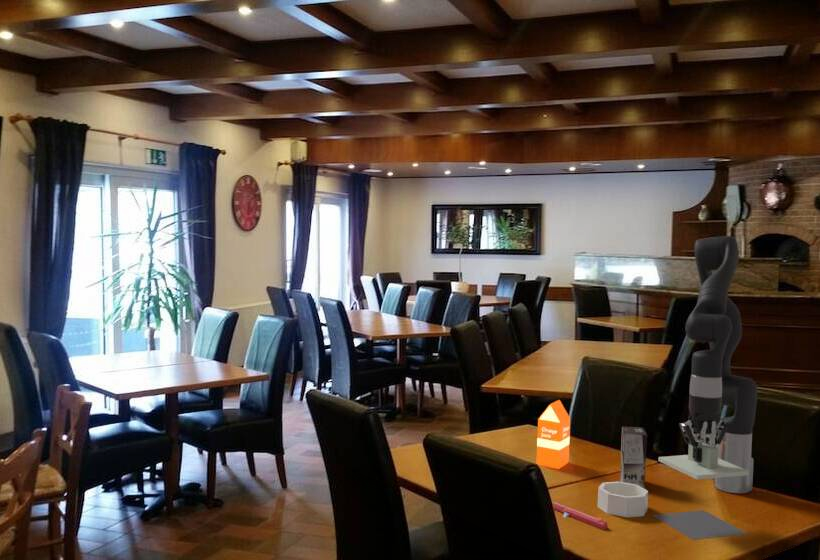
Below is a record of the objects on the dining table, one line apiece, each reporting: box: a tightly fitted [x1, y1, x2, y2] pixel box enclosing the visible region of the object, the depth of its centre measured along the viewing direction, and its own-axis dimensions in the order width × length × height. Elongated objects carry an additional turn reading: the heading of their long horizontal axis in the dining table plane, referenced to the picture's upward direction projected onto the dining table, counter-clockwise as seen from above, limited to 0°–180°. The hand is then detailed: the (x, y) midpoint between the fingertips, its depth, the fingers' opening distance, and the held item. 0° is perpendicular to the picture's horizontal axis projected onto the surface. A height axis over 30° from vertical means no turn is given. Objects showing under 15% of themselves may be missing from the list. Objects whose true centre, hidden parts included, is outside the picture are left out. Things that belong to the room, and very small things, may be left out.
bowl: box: [597, 481, 649, 518], centre depth 192 cm, size 12×12×6 cm
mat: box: [652, 509, 748, 541], centre depth 182 cm, size 16×16×1 cm
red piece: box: [552, 501, 608, 530], centre depth 188 cm, size 24×2×5 cm
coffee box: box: [619, 426, 648, 489], centre depth 213 cm, size 9×6×16 cm
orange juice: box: [535, 399, 571, 470], centre depth 231 cm, size 8×9×20 cm
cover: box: [658, 441, 749, 481], centre depth 181 cm, size 15×15×6 cm
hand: (702, 461), depth 182 cm, fingers closed on cover, 2 cm apart
